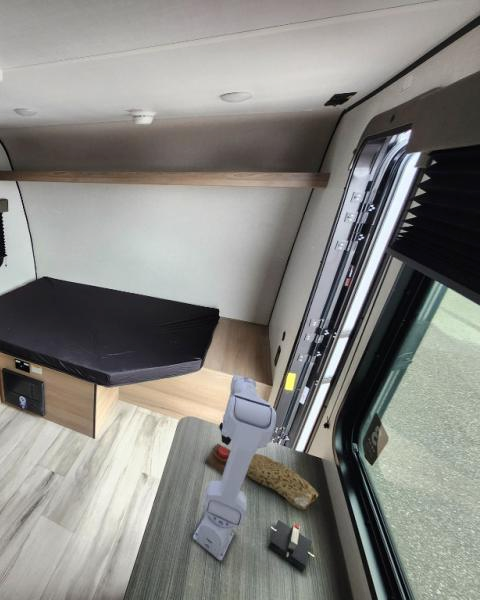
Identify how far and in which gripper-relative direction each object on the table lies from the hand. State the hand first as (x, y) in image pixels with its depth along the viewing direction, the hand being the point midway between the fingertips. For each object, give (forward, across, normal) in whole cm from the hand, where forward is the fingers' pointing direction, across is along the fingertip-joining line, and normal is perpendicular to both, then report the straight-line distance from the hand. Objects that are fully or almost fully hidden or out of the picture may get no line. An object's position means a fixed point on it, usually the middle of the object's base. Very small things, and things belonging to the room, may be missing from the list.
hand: (227, 439), depth 106 cm
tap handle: (+7, -15, -24) cm, 29 cm away
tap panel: (+10, -15, -24) cm, 30 cm away
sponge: (+10, +3, -16) cm, 19 cm away
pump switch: (+10, 0, 0) cm, 10 cm away
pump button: (+7, 0, 0) cm, 7 cm away
